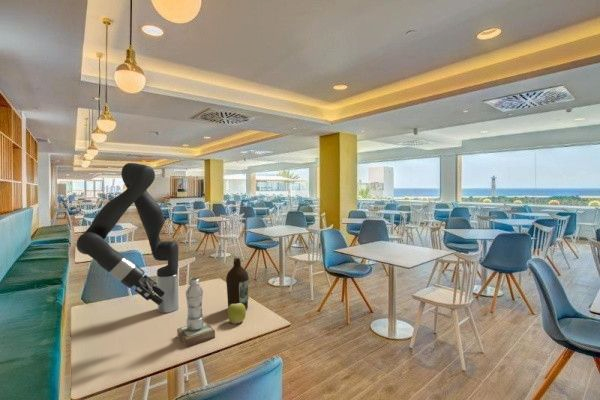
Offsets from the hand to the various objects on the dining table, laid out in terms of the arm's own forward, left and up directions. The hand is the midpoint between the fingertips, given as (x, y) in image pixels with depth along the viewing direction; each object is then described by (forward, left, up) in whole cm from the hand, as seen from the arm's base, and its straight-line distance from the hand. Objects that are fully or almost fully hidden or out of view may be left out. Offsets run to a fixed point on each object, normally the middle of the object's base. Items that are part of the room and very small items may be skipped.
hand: (162, 298), depth 118 cm
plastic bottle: (+4, +11, -14) cm, 18 cm away
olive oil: (-10, +37, -17) cm, 42 cm away
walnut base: (+4, +11, -17) cm, 21 cm away
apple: (+2, +30, -17) cm, 35 cm away
